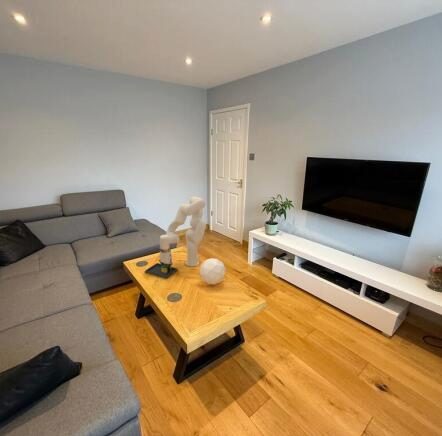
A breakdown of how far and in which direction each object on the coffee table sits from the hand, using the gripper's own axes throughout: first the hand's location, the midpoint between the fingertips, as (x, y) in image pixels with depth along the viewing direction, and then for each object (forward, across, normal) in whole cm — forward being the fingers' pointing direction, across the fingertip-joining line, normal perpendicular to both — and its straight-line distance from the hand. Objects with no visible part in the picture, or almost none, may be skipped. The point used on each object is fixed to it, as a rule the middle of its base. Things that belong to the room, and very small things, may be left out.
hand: (166, 269), depth 195 cm
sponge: (+1, 0, 0) cm, 1 cm away
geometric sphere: (+1, -42, -3) cm, 42 cm away
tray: (+1, +3, +3) cm, 4 cm away
